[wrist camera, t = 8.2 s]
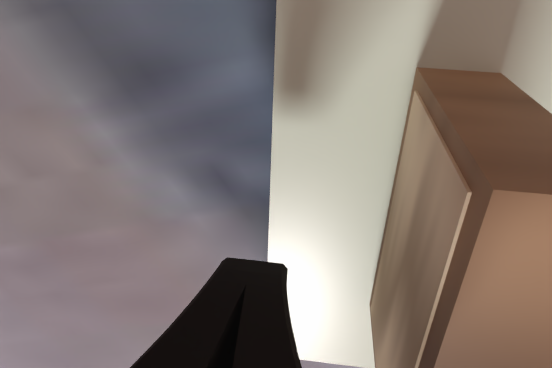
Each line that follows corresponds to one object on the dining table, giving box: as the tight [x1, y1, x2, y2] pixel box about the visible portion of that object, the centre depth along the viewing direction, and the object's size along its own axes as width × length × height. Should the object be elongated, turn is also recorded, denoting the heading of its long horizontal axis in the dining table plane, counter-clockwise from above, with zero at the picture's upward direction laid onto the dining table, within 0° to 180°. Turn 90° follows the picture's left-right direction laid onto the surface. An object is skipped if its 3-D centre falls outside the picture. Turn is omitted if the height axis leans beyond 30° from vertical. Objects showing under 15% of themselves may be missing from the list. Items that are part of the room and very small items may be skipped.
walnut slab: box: [369, 67, 552, 368], centre depth 10 cm, size 8×2×6 cm, turn 178°
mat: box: [268, 0, 552, 368], centre depth 12 cm, size 16×14×1 cm
